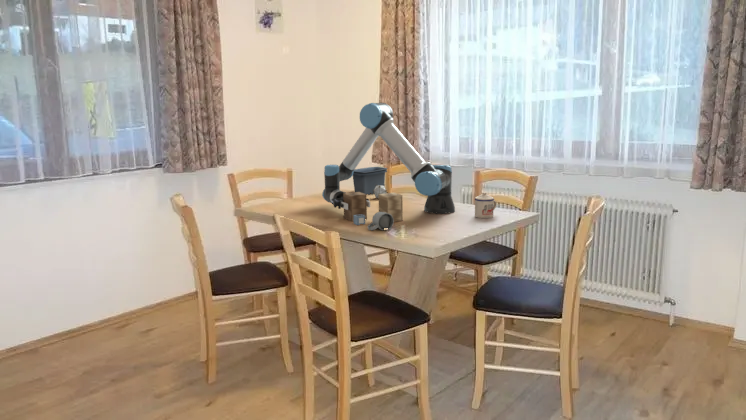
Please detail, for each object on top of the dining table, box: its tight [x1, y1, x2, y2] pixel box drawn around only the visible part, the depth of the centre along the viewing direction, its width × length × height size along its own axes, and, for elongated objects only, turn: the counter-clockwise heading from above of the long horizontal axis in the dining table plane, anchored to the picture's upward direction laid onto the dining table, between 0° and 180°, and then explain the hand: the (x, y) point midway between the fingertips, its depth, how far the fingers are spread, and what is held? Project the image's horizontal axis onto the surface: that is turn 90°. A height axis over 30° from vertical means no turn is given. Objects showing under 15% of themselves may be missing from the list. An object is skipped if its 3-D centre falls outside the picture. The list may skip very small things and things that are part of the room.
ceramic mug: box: [366, 211, 395, 231], centre depth 264 cm, size 11×8×8 cm
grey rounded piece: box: [372, 184, 389, 200], centre depth 338 cm, size 9×8×10 cm
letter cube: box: [353, 214, 366, 226], centre depth 276 cm, size 4×4×4 cm
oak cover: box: [378, 192, 404, 223], centre depth 282 cm, size 8×8×12 cm
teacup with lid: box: [474, 191, 497, 219], centre depth 288 cm, size 12×9×12 cm
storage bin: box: [352, 166, 388, 196], centre depth 358 cm, size 21×16×14 cm
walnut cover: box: [343, 191, 368, 222], centre depth 286 cm, size 8×8×12 cm
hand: (358, 205), depth 282 cm, fingers open, 11 cm apart
